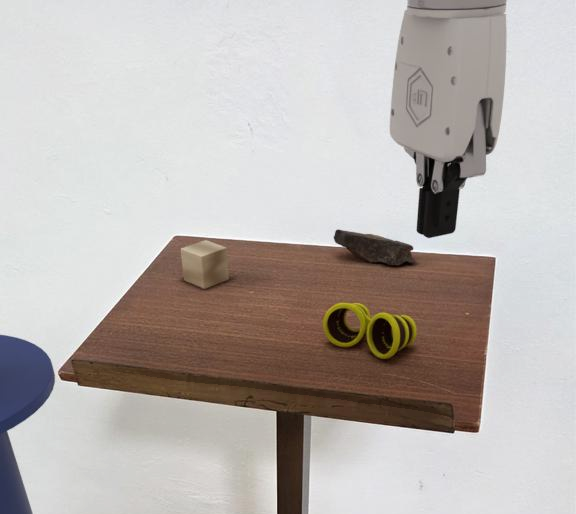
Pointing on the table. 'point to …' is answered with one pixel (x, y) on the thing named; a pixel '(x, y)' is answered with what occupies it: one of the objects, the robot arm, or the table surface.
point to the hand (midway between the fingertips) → (435, 232)
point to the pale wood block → (205, 264)
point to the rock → (375, 247)
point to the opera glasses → (369, 329)
